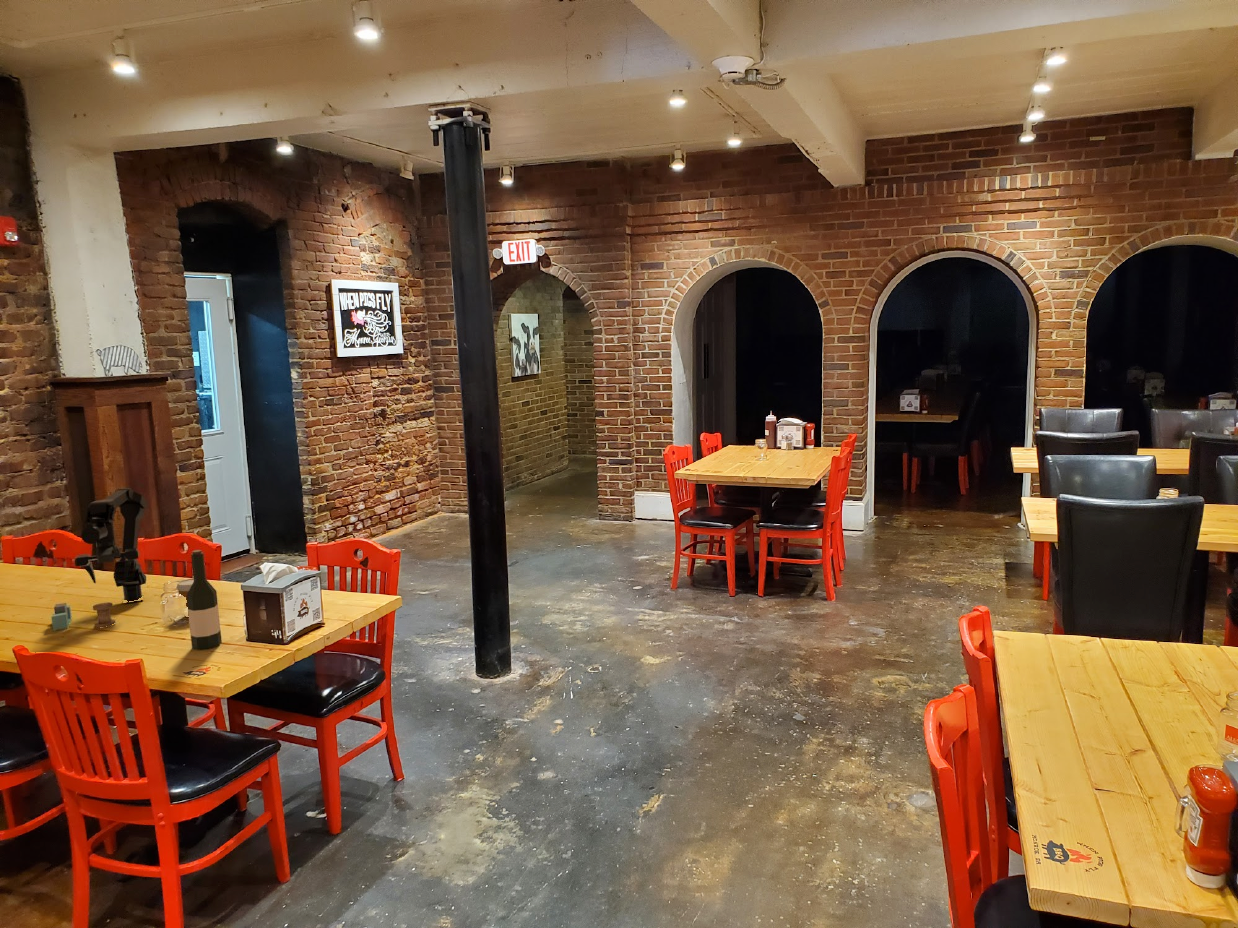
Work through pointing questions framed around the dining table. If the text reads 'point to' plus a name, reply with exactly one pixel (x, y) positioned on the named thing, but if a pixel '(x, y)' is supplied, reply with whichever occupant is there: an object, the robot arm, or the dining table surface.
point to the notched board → (61, 619)
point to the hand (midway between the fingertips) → (110, 580)
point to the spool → (103, 614)
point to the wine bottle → (202, 608)
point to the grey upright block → (61, 608)
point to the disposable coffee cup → (184, 587)
